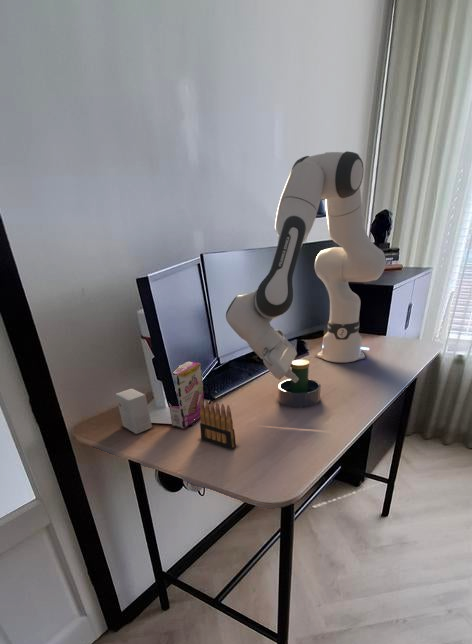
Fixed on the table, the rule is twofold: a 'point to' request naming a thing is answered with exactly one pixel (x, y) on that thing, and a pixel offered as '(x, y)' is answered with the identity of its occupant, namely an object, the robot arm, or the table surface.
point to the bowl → (299, 394)
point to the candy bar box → (187, 394)
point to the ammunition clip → (217, 425)
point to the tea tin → (300, 376)
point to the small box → (133, 410)
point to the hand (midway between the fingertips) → (299, 377)
